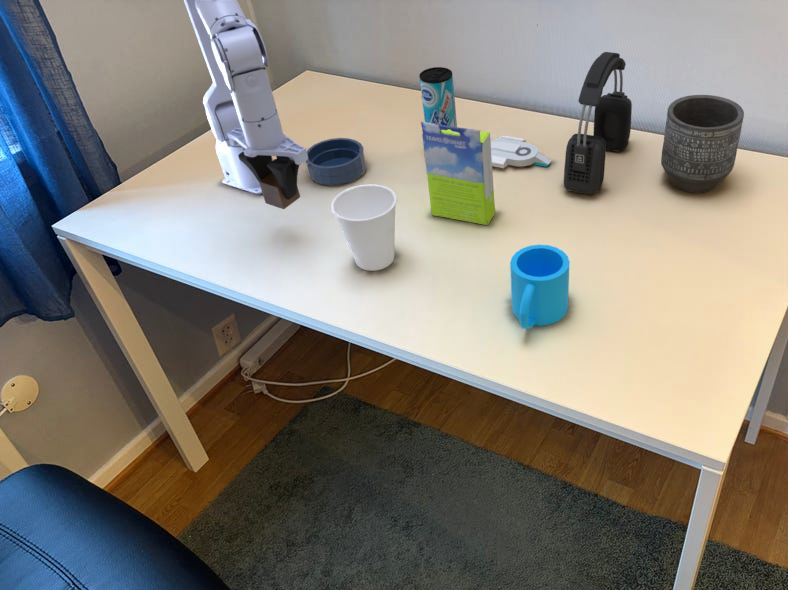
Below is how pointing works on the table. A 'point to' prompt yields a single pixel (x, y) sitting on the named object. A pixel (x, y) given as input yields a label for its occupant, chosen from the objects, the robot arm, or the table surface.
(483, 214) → the box
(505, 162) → the toy rocket
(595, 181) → the headphones
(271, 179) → the block
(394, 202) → the cup
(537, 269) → the mug
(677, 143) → the planter
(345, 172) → the bowl
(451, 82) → the blue printed cylinder
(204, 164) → the table surface
